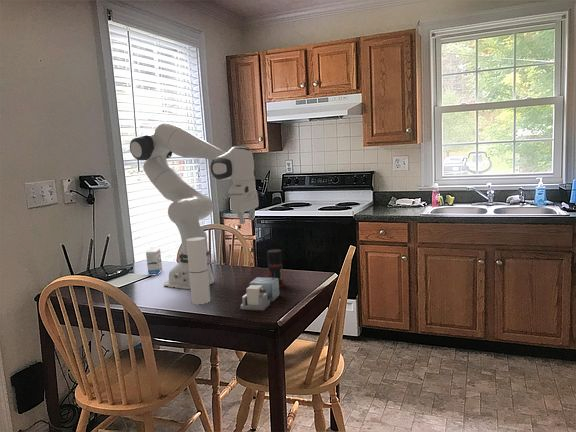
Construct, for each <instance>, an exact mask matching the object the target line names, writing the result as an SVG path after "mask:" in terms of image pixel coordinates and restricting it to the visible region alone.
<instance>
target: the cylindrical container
mask: <svg viewBox="0 0 576 432" xmlns="http://www.w3.org/2000/svg"><path fill="white" fill-rule="evenodd" d="M186 245H187V256H188V266H189V277H190V287H191V289H190V297H191V304H193V305H198V306H199V304H201V305H205V303H206V304H208V302H209V303H210V302H211V292H210V291H211V290H210V285H209V279H208V268H207V256H206V245H205V238H204V237H195V238H189V239H186Z"/></svg>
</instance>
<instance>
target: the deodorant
mask: <svg viewBox="0 0 576 432" xmlns="http://www.w3.org/2000/svg"><path fill="white" fill-rule="evenodd" d="M266 254H267V255H266V256H267V269H268V278H278V281H279V288H282V287H284V273H283V259H282V249H279V248H278V249H277V248H276V249H269V250H267V251H266Z"/></svg>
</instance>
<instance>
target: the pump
mask: <svg viewBox="0 0 576 432" xmlns="http://www.w3.org/2000/svg"><path fill="white" fill-rule="evenodd" d="M245 292H246V294H247V303H248V304H249V305H259V297H260V296H261V295H263V293H266V289H262V285H250V284H249V286H248V287H247V288H246V291H245Z"/></svg>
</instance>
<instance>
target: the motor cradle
mask: <svg viewBox="0 0 576 432" xmlns="http://www.w3.org/2000/svg"><path fill="white" fill-rule="evenodd" d="M250 285H262V289H266V293H263V295H261V296H260V297H259V305H249V304H248V303H247V293H245V294H244V295H243V296H241V302H242V303H241V304H240V310H246V311H247V310H248V311H265V310H266V309H267V308H268V307H269V306H270V305H271V302H274V301H275V300H276V299H277V298H278V297H279V296H280V287H279V281H278V278H269V277H259V276H257V277H255V278H254V279H252V281H250V282H249V286H250Z"/></svg>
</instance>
